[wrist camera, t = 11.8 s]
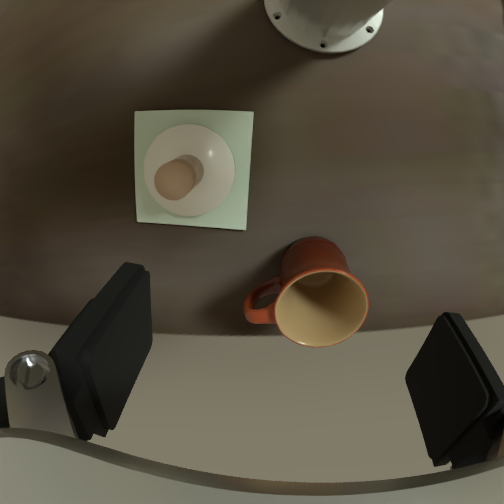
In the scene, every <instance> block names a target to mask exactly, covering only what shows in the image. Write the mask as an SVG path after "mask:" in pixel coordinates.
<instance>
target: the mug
mask: <svg viewBox="0 0 504 504" xmlns="http://www.w3.org/2000/svg"><path fill="white" fill-rule="evenodd" d="M276 293H279V294H278V296H277V298H276V300H275V301H274V302H272V303H271V304H269V305H268V306H266V307H264V308H261V309H254V307H255V305H256V303H257V302H258V301H259V300H260V299H261V298H263V297H264V296H266V295H269V294H276ZM368 307H369V301H368V296H367V292H366V290H365V288H364V286H363V285H362V284H361V282H360V281H359V280H358V279H357V278H356V277H354V276H353V275H351V274H350V271H349V268H348V265H347V263H346V259H345V257H344V255H343V253H342V252H341V251H340V249H339V248H338V247H337V246H336V245H335V244H334V243H333V242H331V241H329V240H328V239H325V238H322V237H317V236H310V237H305V238H302V239H300V240H298V241H296V242H295V243H293V244H292V245H291V246H290V247H289V249H288V250H287V251H286V253H285V255H284V257H283V259H282V263H281V267H280V274H279V275H277V276H275V277H272V278H270V279H269V280H267V281H265V282H263V283H261V284H259V285H258V286H256V287H255V288H253V289H252V290H251V291H250V292H249V293H248V294H247V296H246V297H245V300H244V302H243V313H244V316H245V318H246V319H247V321H249V322H250V323H254V324H263V323H269V324H274V323H276V324H277V327H278V328H279V330H280V332H281V333H282V334H283V335H284V336H285V337H287V338H288V339H290V340H291V341H293V342H295V343H297V344H300V345H303V346H308V347H326V346H331V345H335V344H338V343H340V342H342V341H344V340H346V339H348V338H349V337H350V336H352V335H353V334H354V333H355V332H356V331H357V330H358V329H359V328H360V327H361V325H362V324H363V322H364V320H365V318H366V316H367V313H368Z"/></svg>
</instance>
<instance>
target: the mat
mask: <svg viewBox="0 0 504 504" xmlns="http://www.w3.org/2000/svg"><path fill="white" fill-rule="evenodd" d="M253 116H254V112H248V111H226V110H155V111H135V126H134V158H135V193H136V213H137V222H148V223H162V224H175V225H188V226H201V227H214V228H226V229H238V230H246V223H247V207H248V191H249V176H250V161H251V146H252V131H253ZM183 124H197V125H202V126H205V127H208V128H210V129H212V130H214V131H215V132H216V133H218V134H219V135H220V136H221V137H222V138H223V139H224V140H225V141H226V142H227V144H228V145H229V147H230V149H231V151H232V153H233V156H234V160H235V169H236V172H235V179H234V183H233V186H232V188H231V190H230V192H229V194H228V195H227V197H226V198H225V200H224V201H223V202H222V203H221V204H220V205H219V206H218V207H216V208H215V209H213V210H212V211H210V212H208V213H205V214H202V215H198V216H182V215H178V214H175V213H172V212H170V211H168V210H166V209H165V208H163V207H162V206H161V205H160V204H159V203H157V202H156V200H155V199H154V198H153V197H152V195H151V194H150V192H149V190H148V188H147V185H146V182H145V178H144V160H145V156H146V153H147V151H148V149H149V147H150V145H151V144H152V142H153V141H154V140H155V139H156V138H157V137H158V136H159V135H160V134H161V133H162V132H164V131H165V130H167V129H169V128H172V127H174V126H178V125H183Z"/></svg>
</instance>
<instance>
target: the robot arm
mask: <svg viewBox="0 0 504 504" xmlns="http://www.w3.org/2000/svg"><path fill="white" fill-rule="evenodd" d="M391 1H392V0H264V5H265V10H266V12H267V15H268V17H269V19H270V21H271V22H272V24H273V25H274V27H275V28H276V29H277V30H278V31H279V32H280V33H281V34H282V35H283V36H284V37H285V38H287V39H288V40H289V41H291V42H292V43H294V44H296V45H298V46H300V47H302V48H305V49H308V50H311V51H314V52H320V53H331V54H337V53H344V52H349V51H352V50H355V49H357V48H359V47H361V46H363V45H365V44H366V43H367V42H368V41H370V40H371V39H372V38H373V37H374V36H375V35H376V34H377V32H378V30H379V28H380V26H381V24H382V20H383V8H384V7H385V6H386V5H387V4H388V3H390V2H391ZM277 16H278V17H280V19H278V20H277V19H275V17H277ZM366 30H369V31H370V33H368V32H367V31H366ZM320 44H323V45H324V46H325V47H324V48H322V47H320ZM151 345H152V321H151V299H150V273H149V271H145V268H144V266H143V265H139V264H134V263H129V262H125V263H124V264H123V265H122V266H121V267H120V268H119V269H118V270H117V272H116V273H115V274H114V275H113V276H112V278H111V279H110V280H109V281H108V282H107V284H106V285H105V286H104V287H103V288H102V290H101V291H100V292H99V293H98V294H97V296H96V297H95V298H93V299H91V300H90V301H89V302H88V303H87V305H86V306H85V307H84V308H83V310H82V311H81V312H80V313H79V315H78V316H77V317H76V318H75V320H74V321H73V322H72V323H71V325H70V326H69V327H68V329H67V330H66V331H65V333H64V334H63V335H62V336H61V338H60V339H59V341H58V342H57V343H56V344H55V346H54V347H53V348H52V350H51V351H50V352H49V354H48V355H47V354H46V353H44V352H42V351H36V350H31V351H25V352H22V353H19V354H18V355H16V356H14V357H13V358H12V359H11V360H10V361H9V362H8V364H7V366H6V369H5V375H4V377H1V378H0V504H504V385H503V383H502V381H501V380H500V378H499V376H498V374H497V372H496V371H495V369H494V367H493V366H492V364H491V362H490V360H489V359H488V357H487V356H486V354H485V352H484V351H483V349H482V347H481V346H480V344H479V342H478V341H477V339H476V338H475V336H474V335H473V333H472V332H471V330H470V328H469V327H468V325H467V324H466V322H465V321H464V319H463V318H462V316H461V315H460V314H458V313H450V312H445V313H443V314H442V315H441V316H439V317H438V318H437V320H436V321H435V323H434V325H433V327H432V329H431V331H430V333H429V335H428V336H427V338H426V340H425V342H424V344H423V345H422V347H421V349H420V351H419V352H418V354H417V356H416V358H415V359H414V361H413V363H412V364H411V366H410V367H409V369H408V371H407V373H406V377H405V380H406V384H407V387H408V390H409V393H410V396H411V399H412V402H413V405H414V408H415V411H416V415H417V418H418V421H419V424H420V428H421V431H422V434H423V438H424V441H425V445H426V448H427V452H428V455H429V457H430V458H431V459H432V461H433V464H434V467H436V466H441V465H446V464H447V463H449V462H450V461H451V463H452V466H451V467H450V470H448V471H443V472H437V473H432V474H426V475H420V476H413V477H405V478H397V479H388V480H378V481H365V482H346V483H345V482H343V483H305V482H304V483H303V482H283V481H268V480H258V479H249V478H240V477H233V476H226V475H219V474H213V473H207V472H202V471H197V470H192V469H187V468H181V467H177V466H173V465H168V464H163V463H160V462H155V461H152V460H148V459H144V458H140V457H136V456H133V455H130V454H126V453H123V452H120V451H117V450H113V449H110V448H107V447H103V446H100V445H96V444H93V443H90V442H88V440H90V439H91V438H92V436H93V434H97V435H100V436H102V437H106V434H107V432H108V430H109V429H110V430H113V429H114V428H115V427H116V424H117V422H118V420H119V418H120V415H121V413H122V411H123V408H124V406H125V404H126V402H127V399H128V397H129V395H130V393H131V390H132V388H133V386H134V384H135V381H136V379H137V377H138V375H139V372H140V370H141V368H142V366H143V364H144V361H145V359H146V357H147V355H148V353H149V351H150V349H151Z"/></svg>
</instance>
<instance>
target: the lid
mask: <svg viewBox="0 0 504 504" xmlns="http://www.w3.org/2000/svg"><path fill="white" fill-rule="evenodd" d="M235 172H236V169H235V160H234V156H233V153H232V151H231V149H230V147H229V145H228V144H227V142H226V141H225V140H224V139H223V138H222V137H221V136H220V135H219V134H218V133H216V132H215V131H214V130H212V129H210V128H208V127H205V126H202V125H197V124H183V125H178V126H174V127H172V128H169V129H167V130H165V131H164V132H162V133H161V134H160V135H159V136H158V137H157V138H156V139H155V140H154V141H153V142H152V144H151V145H150V147H149V149H148V151H147V153H146V156H145V160H144V178H145V182H146V185H147V188H148V190H149V192H150V194H151V195H152V197H153V198H154V199H155V200H156V202H157V203H159V204H160V205H161V206H162V207H163V208H165V209H166V210H168V211H170V212H172V213H175V214H178V215H182V216H198V215H202V214H205V213H208V212H210V211H212V210H213V209H215V208H216V207H218V206H219V205H220V204H221V203H222V202H223V201H224V200H225V198H226V197H227V195H228V194H229V192H230V190H231V188H232V186H233V183H234V179H235Z"/></svg>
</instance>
